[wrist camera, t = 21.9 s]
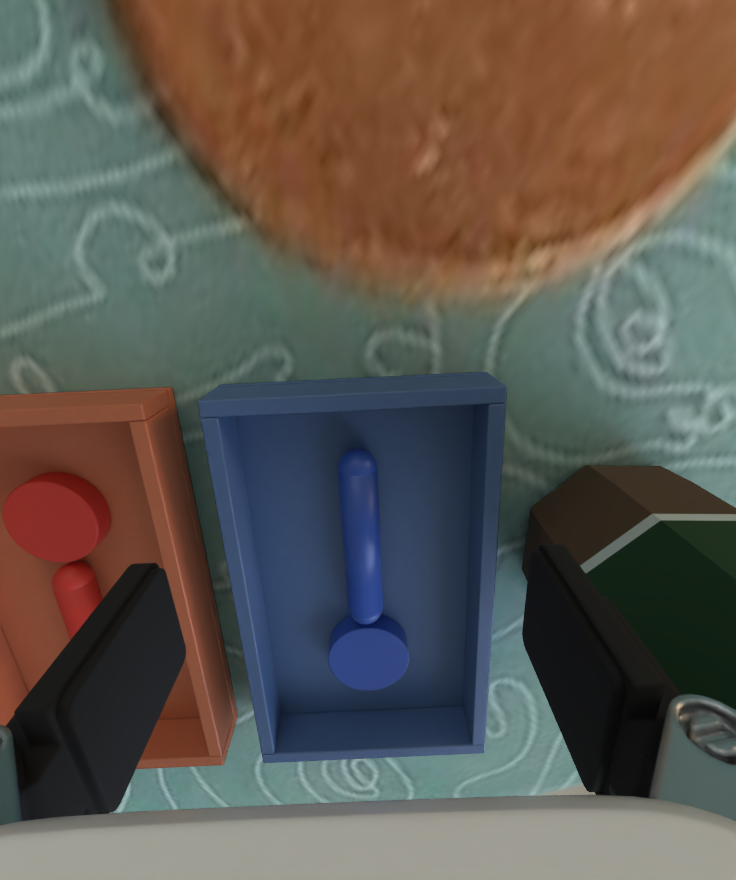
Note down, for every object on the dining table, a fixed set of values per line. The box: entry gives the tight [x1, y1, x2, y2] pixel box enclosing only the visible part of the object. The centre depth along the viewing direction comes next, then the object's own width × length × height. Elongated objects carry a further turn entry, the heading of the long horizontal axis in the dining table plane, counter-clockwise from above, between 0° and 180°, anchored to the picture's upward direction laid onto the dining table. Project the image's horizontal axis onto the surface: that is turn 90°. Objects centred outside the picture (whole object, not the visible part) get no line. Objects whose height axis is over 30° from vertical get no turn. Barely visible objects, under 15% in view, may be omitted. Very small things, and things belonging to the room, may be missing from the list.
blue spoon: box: [328, 448, 409, 690], centre depth 18 cm, size 12×4×2 cm, turn 3°
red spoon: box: [3, 472, 111, 640], centre depth 18 cm, size 12×4×2 cm, turn 3°
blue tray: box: [197, 372, 507, 763], centre depth 18 cm, size 17×10×2 cm, turn 3°
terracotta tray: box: [0, 387, 238, 769], centre depth 18 cm, size 17×10×2 cm, turn 3°
